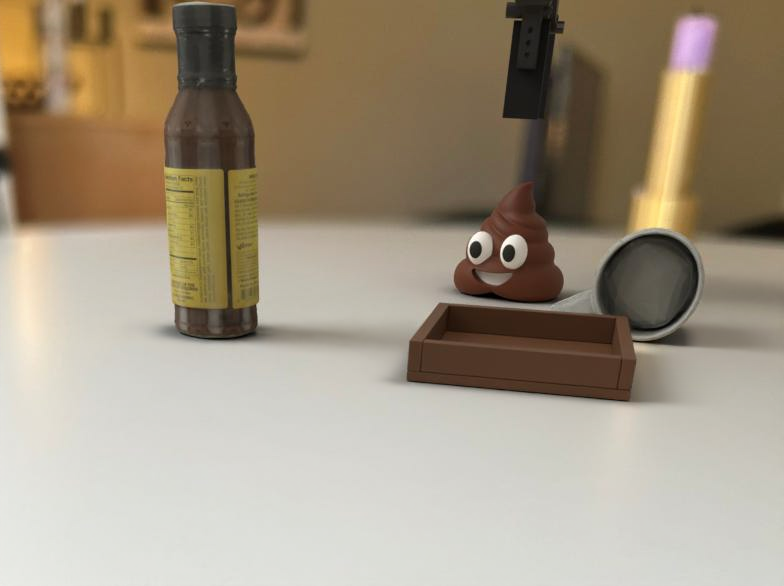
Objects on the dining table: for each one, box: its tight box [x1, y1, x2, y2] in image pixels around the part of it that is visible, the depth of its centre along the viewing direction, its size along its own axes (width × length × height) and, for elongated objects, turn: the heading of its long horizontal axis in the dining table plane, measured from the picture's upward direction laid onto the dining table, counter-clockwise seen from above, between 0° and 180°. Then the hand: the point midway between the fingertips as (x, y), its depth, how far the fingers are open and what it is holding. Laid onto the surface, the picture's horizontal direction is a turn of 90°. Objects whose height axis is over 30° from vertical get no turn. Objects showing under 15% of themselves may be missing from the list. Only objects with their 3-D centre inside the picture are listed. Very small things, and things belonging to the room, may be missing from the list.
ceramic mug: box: [550, 227, 706, 342], centre depth 75 cm, size 11×8×8 cm
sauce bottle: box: [163, 1, 260, 339], centre depth 67 cm, size 6×6×20 cm
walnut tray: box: [405, 302, 638, 401], centre depth 65 cm, size 13×14×2 cm
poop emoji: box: [453, 181, 565, 303], centre depth 88 cm, size 10×8×9 cm
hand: (524, 119), depth 84 cm, fingers open, 13 cm apart
